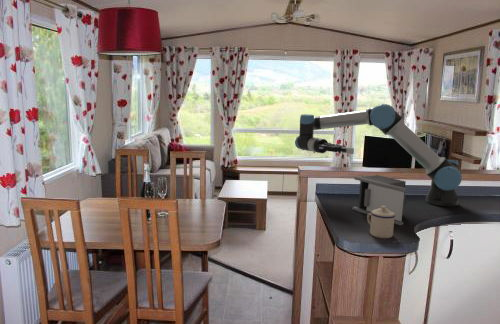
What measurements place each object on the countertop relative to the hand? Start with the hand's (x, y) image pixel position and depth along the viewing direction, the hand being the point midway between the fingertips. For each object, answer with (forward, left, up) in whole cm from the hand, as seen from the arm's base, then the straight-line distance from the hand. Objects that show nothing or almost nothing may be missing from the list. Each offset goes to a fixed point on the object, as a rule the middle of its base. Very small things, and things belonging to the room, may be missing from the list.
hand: (352, 151), depth 189 cm
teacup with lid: (-1, +36, -28) cm, 46 cm away
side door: (-10, +17, -27) cm, 33 cm away
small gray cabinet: (-14, +11, -28) cm, 33 cm away
